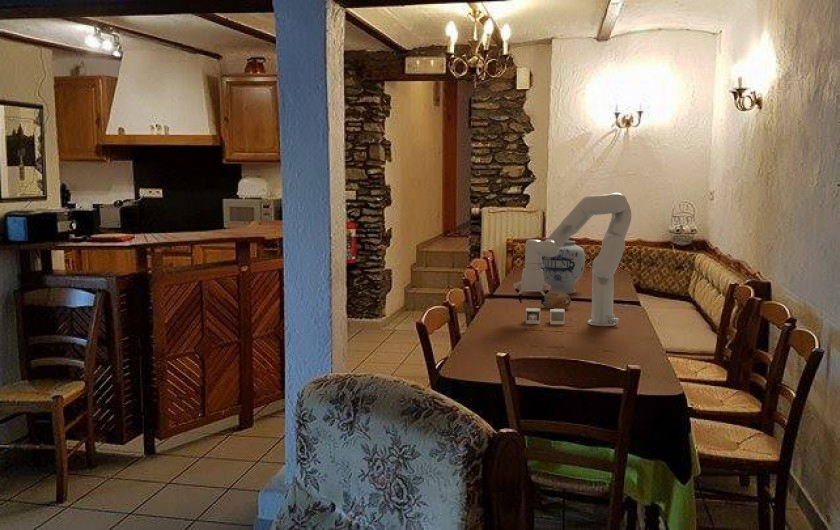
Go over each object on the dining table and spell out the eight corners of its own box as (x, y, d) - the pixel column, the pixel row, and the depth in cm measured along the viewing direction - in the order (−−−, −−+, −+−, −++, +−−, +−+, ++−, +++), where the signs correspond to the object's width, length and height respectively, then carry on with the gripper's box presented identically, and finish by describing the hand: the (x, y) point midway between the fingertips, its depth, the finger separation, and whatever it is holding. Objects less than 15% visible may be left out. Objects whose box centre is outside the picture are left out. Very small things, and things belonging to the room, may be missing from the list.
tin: (540, 307, 379) (541, 291, 378) (542, 306, 382) (543, 290, 381) (569, 310, 372) (569, 293, 371) (571, 309, 375) (571, 292, 374)
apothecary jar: (530, 289, 440) (530, 239, 436) (570, 287, 448) (570, 238, 444) (551, 296, 414) (552, 243, 411) (593, 293, 422) (594, 241, 419)
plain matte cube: (540, 321, 345) (540, 308, 344) (539, 323, 338) (540, 310, 338) (526, 320, 346) (526, 308, 345) (525, 323, 339) (525, 310, 339)
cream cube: (564, 321, 343) (564, 309, 342) (564, 324, 336) (564, 311, 336) (550, 321, 344) (550, 308, 343) (550, 324, 337) (550, 311, 337)
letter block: (537, 321, 344) (537, 313, 343) (537, 323, 340) (537, 314, 339) (528, 321, 344) (528, 312, 344) (528, 323, 340) (528, 314, 340)
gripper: (552, 266, 341) (550, 302, 343) (514, 264, 344) (513, 300, 346) (552, 268, 334) (550, 305, 336) (513, 266, 337) (512, 303, 339)
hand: (531, 303), depth 341 cm, fingers open, 9 cm apart
